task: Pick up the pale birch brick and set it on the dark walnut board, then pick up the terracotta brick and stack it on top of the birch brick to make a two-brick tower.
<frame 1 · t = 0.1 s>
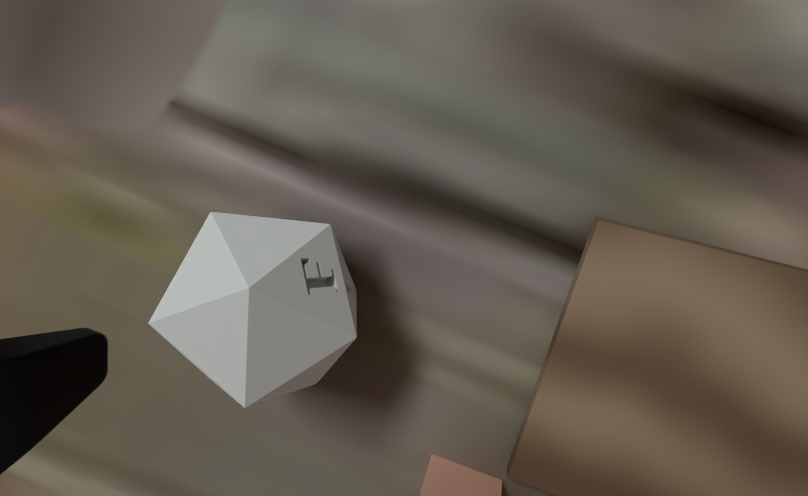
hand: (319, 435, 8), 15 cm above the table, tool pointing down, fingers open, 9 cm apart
walnut board: (677, 394, 20), on the table
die: (307, 277, 24), on the table
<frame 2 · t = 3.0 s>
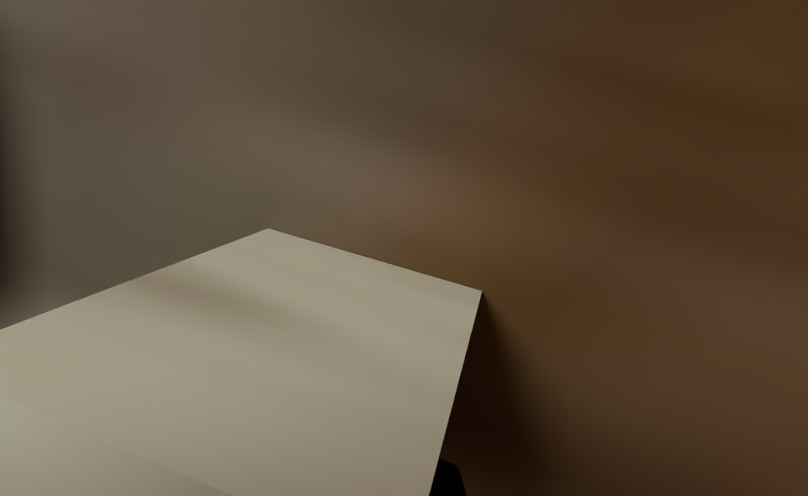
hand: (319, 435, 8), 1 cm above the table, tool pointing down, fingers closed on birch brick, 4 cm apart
birch brick: (341, 400, 9), on the table, touching gripper
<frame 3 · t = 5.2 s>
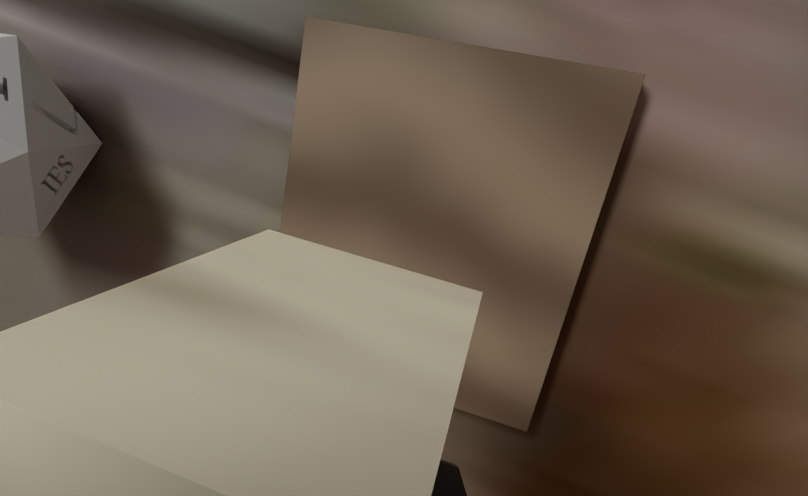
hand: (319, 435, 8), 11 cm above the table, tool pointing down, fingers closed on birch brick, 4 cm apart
birch brick: (342, 401, 9), point 10 cm above the table, touching gripper
walnut board: (426, 230, 18), on the table
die: (57, 135, 22), on the table
when the fingers open (3 cm above the table, at t = 7.2 s): birch brick stays where it is, resting on walnut board.
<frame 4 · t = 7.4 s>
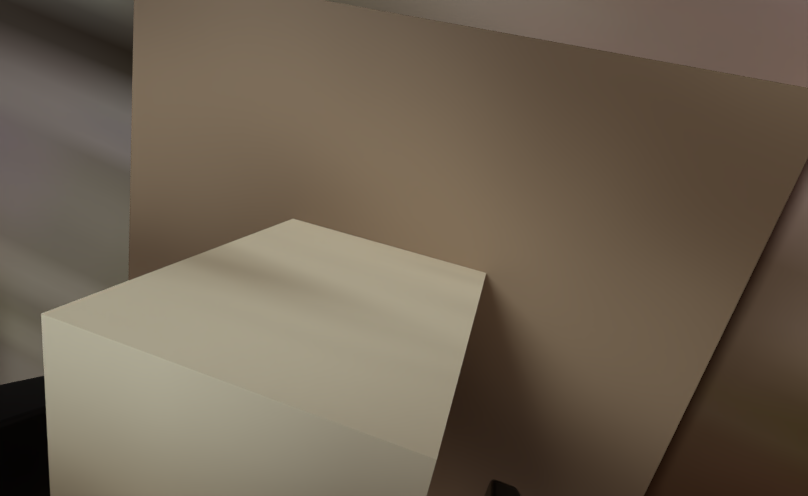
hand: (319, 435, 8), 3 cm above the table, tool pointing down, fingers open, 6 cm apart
birch brick: (359, 375, 9), point 1 cm above the table, touching walnut board
walnut board: (371, 356, 10), on the table
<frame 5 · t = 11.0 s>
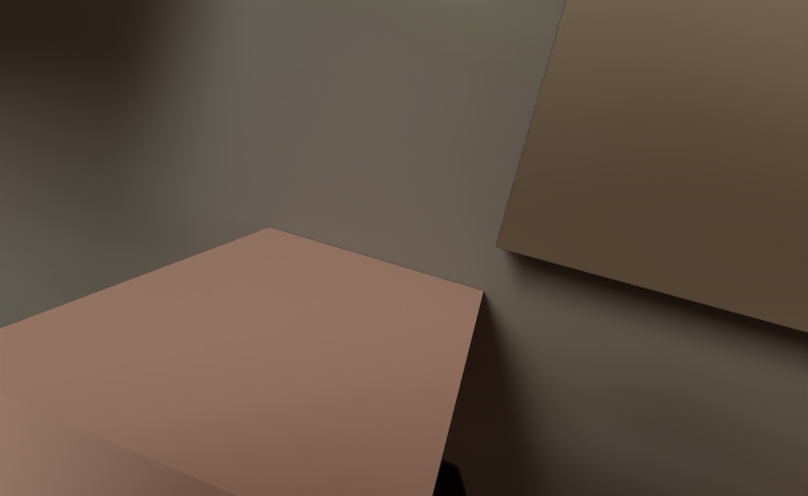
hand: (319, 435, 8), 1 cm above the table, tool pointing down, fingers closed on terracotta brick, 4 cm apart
terracotta brick: (342, 399, 9), on the table, touching gripper
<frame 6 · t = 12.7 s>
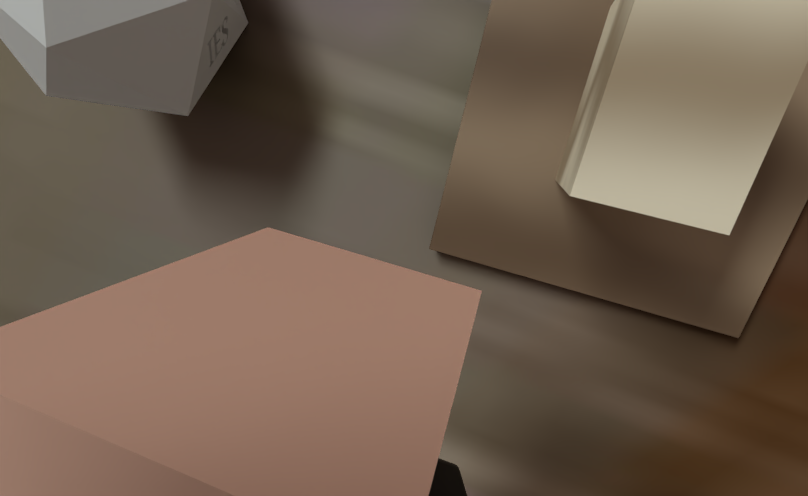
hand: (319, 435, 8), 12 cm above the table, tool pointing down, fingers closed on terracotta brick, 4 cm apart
birch brick: (639, 109, 15), point 1 cm above the table, touching walnut board
walnut board: (634, 110, 16), on the table
terracotta brick: (341, 399, 9), point 11 cm above the table, touching gripper
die: (192, 17, 20), on the table
when the fingers open (8 cm above the table, at t = 14.5 s): terracotta brick stays where it is, resting on birch brick.
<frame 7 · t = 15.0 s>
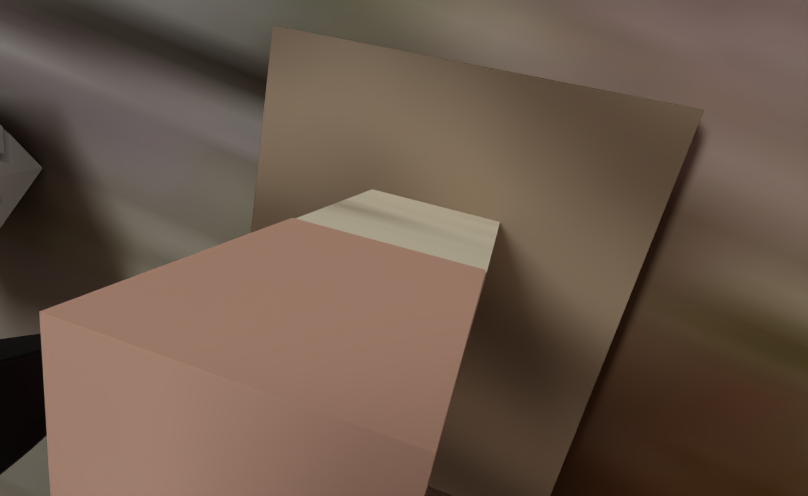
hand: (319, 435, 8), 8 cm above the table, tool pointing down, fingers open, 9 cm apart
birch brick: (413, 295, 14), point 1 cm above the table, touching terracotta brick, walnut board
walnut board: (419, 286, 15), on the table
terracotta brick: (359, 373, 9), point 6 cm above the table, touching birch brick
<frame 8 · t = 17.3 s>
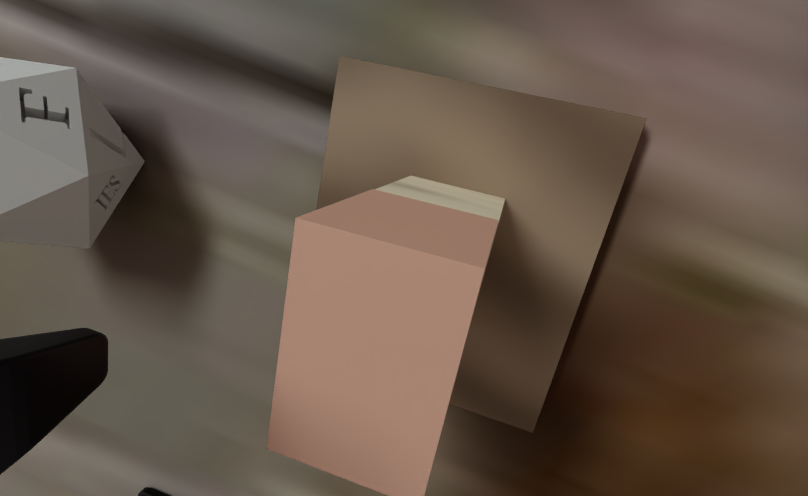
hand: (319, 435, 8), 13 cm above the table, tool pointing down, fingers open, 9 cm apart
birch brick: (440, 254, 19), point 1 cm above the table, touching terracotta brick, walnut board
walnut board: (444, 249, 20), on the table
terracotta brick: (414, 293, 14), point 6 cm above the table, touching birch brick
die: (102, 152, 24), on the table
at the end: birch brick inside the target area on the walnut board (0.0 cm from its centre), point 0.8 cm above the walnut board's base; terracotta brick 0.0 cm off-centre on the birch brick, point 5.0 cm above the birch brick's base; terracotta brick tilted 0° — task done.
